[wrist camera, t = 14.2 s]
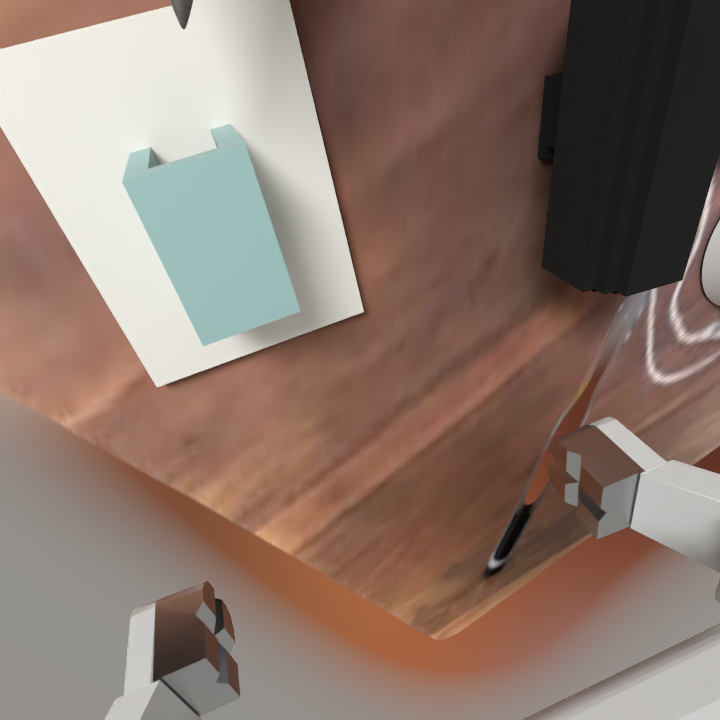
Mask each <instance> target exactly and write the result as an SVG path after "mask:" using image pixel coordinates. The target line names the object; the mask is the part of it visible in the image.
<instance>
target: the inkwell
mask: <svg viewBox="0 0 720 720" xmlns="http://www.w3.org/2000/svg"><path fill="white" fill-rule="evenodd" d="M170 2H171V5H172V7H173V10H174V12H175V15H176V17H177V20H178V22H179V24H180V26H181V27H182V29H183V30H184V29H185V28H186V26H187V23H188V20H189V16H190V12H191V8H192V4H193V0H170Z"/></svg>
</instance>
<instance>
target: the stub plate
mask: <svg viewBox="0 0 720 720" xmlns="http://www.w3.org/2000/svg"><path fill="white" fill-rule="evenodd" d="M227 124H230V125H231V126H232V128H233V129H234V130H235V131H236V133H237V134H238V135H239V137H240V138H241V139H242V140H243V142H244V143H245V144H246V147H247V150H248V153H249V156H250V159H251V162H252V165H253V168H254V171H255V174H256V177H257V180H258V183H259V186H260V189H261V192H262V195H263V198H264V201H265V204H266V207H267V211H268V214H269V217H270V220H271V223H272V226H273V229H274V232H275V235H276V238H277V241H278V244H279V247H280V250H281V253H282V256H283V259H284V262H285V265H286V268H287V271H288V274H289V277H290V280H291V283H292V286H293V289H294V292H295V295H296V299H297V302H298V305H299V308H300V311H301V312H298V313H295V314H292V315H290V316H287V317H284V318H281V319H278V320H276V321H273V322H270V323H267V324H264V325H262V326H259V327H256V328H253V329H250V330H248V331H245V332H242V333H239V334H236V335H234V336H231V337H228V338H225V339H222V340H220V341H217V342H214V343H211V344H209V345H206V346H203V345H202V343H201V341H200V339H199V337H198V335H197V333H196V331H195V329H194V327H193V325H192V323H191V321H190V319H189V317H188V315H187V313H186V311H185V309H184V307H183V305H182V303H181V300H180V298H179V296H178V294H177V292H176V290H175V288H174V286H173V284H172V282H171V280H170V278H169V276H168V274H167V272H166V270H165V268H164V266H163V264H162V262H161V260H160V258H159V256H158V254H157V252H156V250H155V248H154V246H153V244H152V242H151V240H150V238H149V236H148V234H147V232H146V230H145V228H144V226H143V224H142V221H141V219H140V217H139V215H138V213H137V211H136V209H135V207H134V205H133V203H132V201H131V199H130V197H129V195H128V193H127V191H126V189H125V187H124V185H123V183H122V180H123V176H124V173H125V169H126V165H127V162H128V158H129V155H130V153H132V152H135V151H139V150H142V149H145V148H149V147H150V148H151V150H152V152H153V154H154V157H155V159H156V161H157V163H158V166H159V165H162V164H165V163H169V162H172V161H175V160H179V159H182V158H185V157H189V156H192V155H195V154H199V153H202V152H205V151H209V150H212V149H215V148H217V147H216V145H215V142H214V139H213V136H212V134H211V131H210V129H213V128H217V127H220V126H224V125H227ZM0 126H1V128H2V130H3V131H4V133H5V135H6V136H7V138H8V140H9V141H10V143H11V145H12V146H13V148H14V150H15V151H16V153H17V155H18V156H19V158H20V160H21V161H22V163H23V165H24V166H25V168H26V170H27V171H28V173H29V175H30V176H31V178H32V180H33V181H34V183H35V185H36V186H37V188H38V190H39V191H40V193H41V195H42V196H43V198H44V200H45V201H46V203H47V205H48V207H49V208H50V210H51V212H52V213H53V215H54V217H55V218H56V220H57V222H58V223H59V225H60V227H61V228H62V230H63V232H64V233H65V235H66V237H67V238H68V240H69V242H70V243H71V245H72V247H73V248H74V250H75V252H76V253H77V255H78V257H79V258H80V260H81V262H82V263H83V265H84V267H85V268H86V270H87V272H88V273H89V275H90V277H91V278H92V280H93V282H94V283H95V285H96V287H97V288H98V290H99V292H100V293H101V295H102V297H103V298H104V300H105V302H106V303H107V305H108V307H109V308H110V310H111V312H112V313H113V315H114V317H115V318H116V320H117V322H118V323H119V325H120V327H121V328H122V330H123V332H124V333H125V335H126V337H127V338H128V340H129V342H130V343H131V345H132V347H133V348H134V350H135V352H136V353H137V355H138V357H139V358H140V360H141V362H142V363H143V365H144V367H145V368H146V370H147V372H148V373H149V375H150V377H151V378H152V380H153V382H154V383H155V385H156V387H160V386H162V385H165V384H168V383H170V382H173V381H176V380H179V379H181V378H184V377H187V376H190V375H192V374H195V373H198V372H201V371H203V370H206V369H209V368H212V367H214V366H217V365H220V364H223V363H225V362H228V361H231V360H234V359H236V358H239V357H242V356H244V355H247V354H250V353H253V352H255V351H258V350H261V349H264V348H266V347H269V346H272V345H275V344H277V343H280V342H283V341H286V340H288V339H291V338H294V337H297V336H299V335H302V334H305V333H307V332H310V331H313V330H316V329H318V328H321V327H324V326H327V325H329V324H332V323H335V322H338V321H340V320H343V319H346V318H349V317H351V316H354V315H357V314H360V313H362V312H364V310H363V306H362V302H361V298H360V293H359V289H358V285H357V281H356V277H355V273H354V268H353V264H352V260H351V256H350V252H349V247H348V243H347V239H346V235H345V231H344V227H343V222H342V218H341V214H340V210H339V206H338V202H337V197H336V193H335V189H334V185H333V181H332V177H331V172H330V168H329V164H328V160H327V156H326V151H325V147H324V143H323V139H322V135H321V131H320V126H319V122H318V118H317V114H316V110H315V106H314V101H313V97H312V93H311V89H310V85H309V80H308V76H307V72H306V68H305V64H304V60H303V55H302V51H301V47H300V43H299V39H298V35H297V30H296V26H295V22H294V18H293V14H292V9H291V5H290V1H289V0H193V4H192V8H191V12H190V16H189V20H188V23H187V26H186V28H185V29H184V30H183V29H182V27H181V26H180V24H179V22H178V20H177V17H176V15H175V12H174V10H173V7H172V6H168V7H164V8H160V9H157V10H153V11H149V12H145V13H141V14H137V15H133V16H129V17H125V18H121V19H117V20H113V21H109V22H105V23H102V24H98V25H94V26H90V27H86V28H82V29H78V30H74V31H70V32H66V33H62V34H58V35H54V36H50V37H47V38H43V39H39V40H35V41H31V42H27V43H23V44H19V45H15V46H11V47H7V48H3V49H0Z"/></svg>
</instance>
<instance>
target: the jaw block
mask: <svg viewBox="0 0 720 720" xmlns="http://www.w3.org/2000/svg"><path fill="white" fill-rule="evenodd" d="M210 131H211V134H212V136H213V139H214V142H215V145H216V147H217V148H215V149H212V150H209V151H205V152H202V153H199V154H195V155H192V156H189V157H185V158H182V159H179V160H175V161H172V162H169V163H165V164H162V165H159V166H158V163H157V161H156V159H155V157H154V154H153V152H152V150H151V148H150V147H149V148H145V149H142V150H139V151H135V152H132V153H130V155H129V158H128V162H127V165H126V169H125V173H124V176H123V180H122V183H123V185H124V187H125V189H126V191H127V193H128V195H129V197H130V199H131V201H132V203H133V205H134V207H135V209H136V211H137V213H138V215H139V217H140V219H141V221H142V224H143V226H144V228H145V230H146V232H147V234H148V236H149V238H150V240H151V242H152V244H153V246H154V248H155V250H156V252H157V254H158V256H159V258H160V260H161V262H162V264H163V266H164V268H165V270H166V272H167V274H168V276H169V278H170V280H171V282H172V284H173V286H174V288H175V290H176V292H177V294H178V296H179V298H180V300H181V303H182V305H183V307H184V309H185V311H186V313H187V315H188V317H189V319H190V321H191V323H192V325H193V327H194V329H195V331H196V333H197V335H198V337H199V339H200V341H201V343H202V345H203V346H206V345H209V344H211V343H214V342H217V341H220V340H222V339H225V338H228V337H231V336H234V335H236V334H239V333H242V332H245V331H248V330H250V329H253V328H256V327H259V326H262V325H264V324H267V323H270V322H273V321H276V320H278V319H281V318H284V317H287V316H290V315H292V314H295V313H298V312H301V311H300V308H299V305H298V302H297V299H296V295H295V292H294V289H293V286H292V283H291V280H290V277H289V274H288V271H287V268H286V265H285V262H284V259H283V256H282V253H281V250H280V247H279V244H278V241H277V238H276V235H275V232H274V229H273V226H272V223H271V220H270V217H269V214H268V211H267V207H266V204H265V201H264V198H263V195H262V192H261V189H260V186H259V183H258V180H257V177H256V174H255V171H254V168H253V165H252V162H251V159H250V156H249V153H248V150H247V147H246V144H245V143H244V142H243V140H242V139H241V138H240V137H239V135H238V134H237V133H236V131H235V130H234V129H233V128H232V126H231V125H230V124H227V125H224V126H220V127H217V128H213V129H210Z"/></svg>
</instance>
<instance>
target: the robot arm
mask: <svg viewBox="0 0 720 720" xmlns="http://www.w3.org/2000/svg"><path fill="white" fill-rule="evenodd" d="M702 284H703V289H704V292H705V294H706V296H707V297H708V298H709V300H710V301H711V302H713V303H714V304H716V305H718V306H720V220H719V222H718V224H717V226H716V228H715V230H714V232H713V234H712V236H711V239H710V241H709V244H708V247H707V250H706V253H705V257H704V261H703V267H702ZM548 451H549V453H550V454H551V455H552V456H553V458H552V460H551V461H550V462H549V464H548V473H549V477H550V480H551V483H552V485H553V487H554V488H555V490H556V492H557V493H558V495H559V496H560V497H561V498H562V499H563V501H564V502H566V503H569V504H571V505H574V506H576V507H577V517H578V518H579V519H580V521H581V522H582V523H583V524H584V525H585V526H586V528H587V529H588V530H589V531H590V532H591V533H592V535H593V536H594V537H595V538H596V539H599V538H602V537H604V536H607V535H609V534H612V533H614V532H617V531H619V530H621V529H624V528H626V527H629V526H631V529H633V530H635V531H638V532H640V533H641V534H643V535H645V536H647V537H649V538H651V539H653V540H655V541H657V542H659V543H661V544H663V545H665V546H668V547H670V548H671V549H674V550H675V551H677V552H679V553H681V554H683V555H685V556H688V557H689V558H691V559H693V560H695V561H697V562H699V563H701V564H703V565H705V566H707V567H709V568H711V569H713V570H715V571H717V572H719V573H720V474H717V473H714V472H711V471H707V470H704V469H700V468H697V467H694V466H691V465H688V464H685V463H681V462H678V461H675V460H671V461H668V462H666V461H665V460H664V459H663V458H662V457H660V456H659V455H658V454H657V453H656V452H654V451H653V450H652V449H651V448H650V447H648V446H647V445H646V444H645V443H644V442H642V441H641V440H640V439H639V438H638V437H636V436H635V435H634V434H633V433H632V432H631V431H629V430H628V429H627V428H626V427H625V426H623V425H622V424H621V423H620V422H619V421H617V420H616V419H615V418H612V417H610V416H609V417H605V418H603V419H601V420H598V421H596V422H594V423H591V424H589V425H585V426H582V427H580V428H578V429H575V430H573V431H571V432H568V433H566V434H564V435H562V436H559V437H557V438H554V439H552V440H551V441H550V443H549V450H548ZM715 600H716V601H717V602H718V603H719V604H720V581H719V584H718V586H717V589H716V591H715ZM234 644H235V637H234V629H233V625H232V620H231V616H230V613H229V611H228V609H227V607H226V605H225V604H224V602H223V601H222V600H221V599H216V598H215V596H214V588H213V587H212V586H211V585H210V583H209V582H208V581H206V582H203V583H201V584H198V585H196V586H193V587H190V588H188V589H185V590H182V591H180V592H177V593H175V594H172V595H170V596H167V597H164V598H162V599H159V600H156V601H154V602H152V603H149V604H146V605H144V606H141V607H139V608H136V609H134V611H133V613H132V616H131V618H130V627H129V639H128V650H127V662H126V674H125V686H124V695H122V696H120V697H118V698H116V700H115V701H114V703H113V705H112V707H111V709H110V710H109V712H108V714H107V716H106V717H105V719H104V720H201V719H200V716H203V715H205V714H207V713H209V712H211V711H213V710H215V709H217V708H219V707H221V706H224V705H226V704H228V703H230V702H232V701H234V700H236V699H238V698H240V688H239V679H238V678H239V677H238V666H237V663H236V662H235V661H234V659H233V658H232V657H231V655H230V653H231V651H232V649H233V646H234ZM522 720H720V624H718V625H716V626H713V627H712V628H709V629H707V630H705V631H704V632H701V633H699V634H697V635H695V636H693V637H691V638H689V639H687V640H685V641H683V642H681V643H679V644H676V645H674V646H673V647H670V648H668V649H666V650H664V651H662V652H660V653H658V654H656V655H654V656H652V657H650V658H648V659H646V660H644V661H642V662H640V663H637V664H636V665H633V666H631V667H629V668H627V669H625V670H623V671H621V672H619V673H617V674H615V675H613V676H611V677H609V678H607V679H605V680H603V681H601V682H598V683H596V684H594V685H592V686H590V687H588V688H586V689H584V690H582V691H580V692H578V693H576V694H574V695H572V696H570V697H568V698H566V699H563V700H561V701H560V702H557V703H555V704H554V705H551V706H549V707H547V708H545V709H543V710H541V711H539V712H537V713H535V714H533V715H531V716H529V717H527V718H525V719H522Z"/></svg>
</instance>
